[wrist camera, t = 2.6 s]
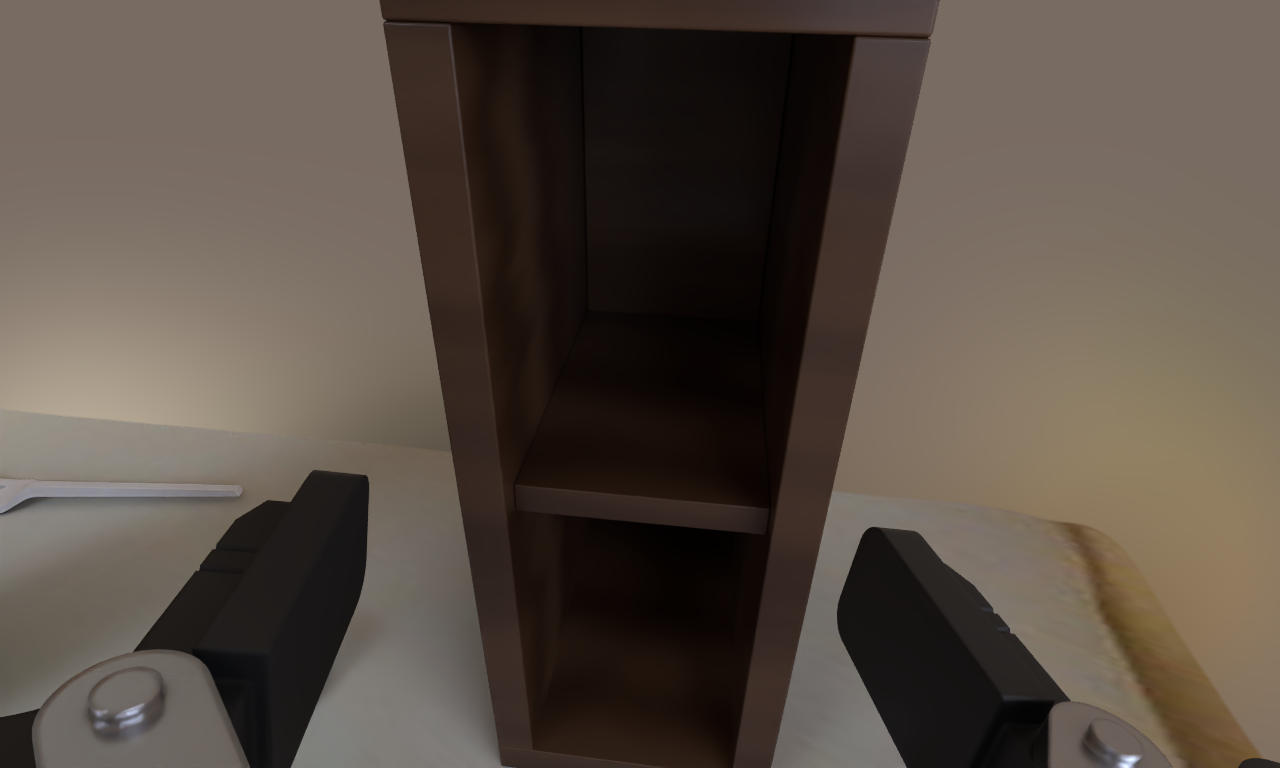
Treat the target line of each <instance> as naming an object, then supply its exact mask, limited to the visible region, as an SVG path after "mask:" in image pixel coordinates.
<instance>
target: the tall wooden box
mask: <svg viewBox="0 0 1280 768" xmlns="http://www.w3.org/2000/svg"><path fill="white" fill-rule="evenodd" d="M939 2H940V0H380V6H381V12H382V17H383V19H384V20H387V21H385V22H384V25H383V26H384V31H385V38H386V44H387V51H388V57H389V63H390V69H391V75H392V82H393V88H394V94H395V100H396V107H397V113H398V119H399V125H400V132H401V138H402V143H403V150H404V157H405V163H406V169H407V175H408V182H409V187H410V194H411V200H412V207H413V213H414V219H415V225H416V232H417V237H418V244H419V250H420V256H421V263H422V269H423V275H424V281H425V288H426V294H427V300H428V306H429V313H430V319H431V325H432V331H433V338H434V344H435V350H436V356H437V363H438V369H439V375H440V381H441V388H442V394H443V400H444V406H445V413H446V419H447V424H448V431H449V437H450V444H451V450H452V456H453V462H454V469H455V475H456V481H457V487H458V494H459V500H460V506H461V512H462V519H463V525H464V531H465V537H466V544H467V550H468V556H469V562H470V569H471V575H472V581H473V587H474V593H475V600H476V606H477V612H478V618H479V625H480V631H481V637H482V643H483V650H484V656H485V662H486V668H487V675H488V681H489V687H490V693H491V700H492V706H493V712H494V718H495V725H496V731H497V737H498V743H499V751H500V757H501V763H502V766H507V767H515V768H771V765H772V761H773V756H774V752H775V747H776V743H777V738H778V734H779V729H780V725H781V720H782V715H783V711H784V706H785V702H786V697H787V693H788V688H789V684H790V679H791V675H792V670H793V665H794V661H795V656H796V652H797V647H798V643H799V638H800V634H801V629H802V625H803V620H804V616H805V611H806V606H807V602H808V597H809V593H810V588H811V584H812V579H813V575H814V570H815V566H816V561H817V557H818V552H819V547H820V543H821V538H822V534H823V529H824V525H825V520H826V516H827V511H828V507H829V502H830V498H831V493H832V488H833V484H834V479H835V474H836V470H837V466H838V461H839V457H840V452H841V447H842V443H843V439H844V434H845V429H846V425H847V420H848V415H849V411H850V407H851V402H852V398H853V393H854V389H855V384H856V379H857V375H858V370H859V366H860V361H861V357H862V352H863V347H864V343H865V338H866V334H867V329H868V325H869V320H870V316H871V311H872V306H873V302H874V298H875V293H876V289H877V284H878V280H879V275H880V271H881V266H882V261H883V257H884V252H885V248H886V243H887V239H888V234H889V229H890V225H891V220H892V216H893V211H894V207H895V202H896V198H897V193H898V188H899V184H900V180H901V175H902V171H903V166H904V162H905V157H906V152H907V148H908V143H909V139H910V134H911V130H912V125H913V120H914V116H915V111H916V107H917V103H918V98H919V93H920V89H921V84H922V80H923V75H924V71H925V66H926V62H927V57H928V53H929V48H930V44H931V41H930V39H928V37H930V36H931V35H932V33H933V29H934V24H935V20H936V15H937V11H938V6H939Z"/></svg>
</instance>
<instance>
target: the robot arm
mask: <svg viewBox="0 0 1280 768" xmlns="http://www.w3.org/2000/svg"><path fill="white" fill-rule="evenodd" d="M368 504H369V481H368V477H367V476H366V475H359V474H349V473H339V472H329V471H319V470H314V471H312V472H311V473H310V474H309V476H308V477H307V478H306V480H305V481H304V483H303V484H302V486H301V487H300V489H299V490H298V492H297V493H296V495H295V496H294V498H293V499H292V501H291V502H282V501H271V500H267V501H266V502H264V503H262V504H261V505H259V506H257V507H256V508H254V509H252V510H251V511H249V512H248V513H246V514H244V515H243V516H241V517H239V518H238V519H236V520H235V521H234V523H233V524H232V525H231V526H230V528H229V529H228V530H227V532H226V533H225V534H224V535H223V537H222V538H221V539H220V541H219V542H218V543H217V546H216V549H213V550H212V551H211V552H210V553H209V555H208V556H207V557H206V559H205V560H204V561H203V562H202V564H201V565H200V570H199V571H195V573H194V574H193V575H192V577H191V578H190V579H189V580H188V582H187V583H186V584H185V586H184V587H183V588H182V589H181V591H180V592H179V593H178V595H177V596H176V597H175V598H174V600H173V601H172V602H171V604H170V605H169V606H168V607H167V609H166V610H165V611H164V613H163V614H162V615H161V616H160V618H159V619H158V620H157V622H156V623H155V624H154V625H153V627H152V628H151V629H150V631H149V632H148V633H147V634H146V636H145V637H144V638H143V640H142V641H141V642H140V643H139V645H138V646H137V647H136V649H135V650H134V651H133V652H132V653H127V654H124V655H120V656H117V657H113V658H111V659H108V660H105V661H103V662H100V663H98V664H96V665H94V666H92V667H90V668H88V669H85V670H84V671H82V672H80V673H79V674H77V675H75V676H74V677H72V678H71V679H69V680H68V681H67V682H65V683H64V684H63V685H61V686H60V687H59V688H58V689H57V690H56V691H55V692H54V693H53V694H52V695H51V696H50V697H49V698H48V699H47V700H46V701H45V703H44V704H43V705H42V706H41V708H40V709H37V710H33V711H29V712H25V713H20V714H16V715H10V716H5V717H0V768H291V765H292V763H293V760H294V758H295V756H296V753H297V751H298V748H299V746H300V743H301V741H302V738H303V736H304V734H305V731H306V729H307V726H308V724H309V721H310V719H311V716H312V714H313V712H314V709H315V707H316V704H317V702H318V699H319V697H320V694H321V692H322V689H323V687H324V685H325V682H326V680H327V677H328V675H329V672H330V670H331V667H332V665H333V663H334V660H335V658H336V655H337V653H338V650H339V648H340V645H341V643H342V641H343V638H344V636H345V633H346V631H347V628H348V626H349V623H350V621H351V618H352V616H353V614H354V611H355V609H356V606H357V604H358V601H359V598H360V594H361V590H362V586H363V581H364V576H365V569H366V557H367V530H368ZM837 623H838V630H839V634H840V637H841V639H842V642H843V644H844V645H845V647H846V649H847V651H848V653H849V655H850V657H851V659H852V661H853V663H854V665H855V667H856V669H857V671H858V673H859V675H860V677H861V679H862V681H863V683H864V685H865V687H866V689H867V690H868V692H869V694H870V696H871V698H872V700H873V702H874V704H875V706H876V708H877V710H878V712H879V714H880V716H881V718H882V720H883V722H884V724H885V726H886V728H887V730H888V732H889V734H890V735H891V737H892V739H893V741H894V743H895V745H896V747H897V749H898V751H899V753H900V755H901V757H902V759H903V761H904V763H905V765H906V767H907V768H1173V767H1172V765H1171V764H1170V762H1169V761H1168V759H1167V758H1166V757H1165V755H1164V754H1163V753H1162V752H1161V751H1160V750H1159V748H1158V747H1157V746H1156V745H1155V744H1154V743H1152V742H1151V741H1150V740H1149V739H1148V738H1147V737H1146V736H1145V735H1143V734H1142V733H1141V732H1140V731H1138V730H1137V729H1136V728H1134V727H1133V726H1131V725H1130V724H1128V723H1127V722H1125V721H1124V720H1122V719H1120V718H1119V717H1117V716H1115V715H1113V714H1111V713H1109V712H1107V711H1105V710H1102V709H1100V708H1098V707H1095V706H1092V705H1089V704H1085V703H1080V702H1071V701H1070V700H1069V698H1068V697H1067V696H1066V695H1065V694H1064V692H1063V691H1062V690H1061V689H1060V688H1059V686H1058V685H1057V684H1056V683H1055V682H1054V680H1053V679H1052V678H1051V677H1050V676H1049V674H1048V673H1047V672H1046V671H1045V670H1044V669H1043V667H1042V666H1041V665H1040V664H1039V663H1038V661H1037V660H1036V659H1035V658H1034V657H1033V655H1032V654H1031V653H1030V652H1029V651H1028V649H1027V648H1026V647H1025V646H1024V645H1023V643H1022V642H1021V641H1020V640H1019V639H1018V638H1017V636H1016V635H1015V634H1011V633H1010V628H1009V627H1008V626H1007V624H1006V623H1005V622H1004V621H1003V620H1002V618H1001V617H1000V616H999V615H998V614H995V613H993V608H992V607H991V605H990V604H989V603H988V602H987V601H986V599H985V598H984V597H983V596H982V595H981V593H980V592H979V591H978V590H977V589H976V587H975V586H974V585H973V584H971V583H970V582H969V581H967V580H966V579H965V578H963V577H962V576H961V575H959V574H958V573H957V572H955V571H954V570H953V569H951V568H950V567H949V566H948V565H946V564H944V563H943V562H942V560H941V559H940V558H939V557H938V556H937V554H936V553H935V552H934V551H933V549H932V548H931V547H930V546H929V545H928V543H927V542H926V541H925V540H924V538H923V537H922V536H921V535H920V534H919V533H917V532H915V531H909V530H899V529H889V528H879V527H871V528H869V529H867V530H866V531H865V532H864V534H863V536H862V538H861V540H860V543H859V546H858V548H857V551H856V554H855V557H854V560H853V562H852V565H851V568H850V571H849V574H848V576H847V579H846V582H845V585H844V588H843V590H842V593H841V596H840V599H839V603H838V609H837ZM1238 768H1280V763H1277V762H1274V761H1270V760H1266V759H1260V758H1251V759H1247V760H1245V761H1243V762H1242V763H1241V764H1240V765H1239V767H1238Z"/></svg>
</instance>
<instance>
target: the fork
mask: <svg viewBox="0 0 1280 768" xmlns="http://www.w3.org/2000/svg"><path fill="white" fill-rule="evenodd" d="M242 492H243V489H242V488H241V487H240V486H239V485H221V484H170V483H118V482H66V481H37V480H35V479H29V480H14V479H3V478H0V513H3V512H5V511H7V510H9V509H10V508H12V507H14V506H15V505H17V504H19V503H20V502H22V501H24V500H26V499H28V498H31V497H238V496H240V495H241V493H242Z"/></svg>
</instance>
